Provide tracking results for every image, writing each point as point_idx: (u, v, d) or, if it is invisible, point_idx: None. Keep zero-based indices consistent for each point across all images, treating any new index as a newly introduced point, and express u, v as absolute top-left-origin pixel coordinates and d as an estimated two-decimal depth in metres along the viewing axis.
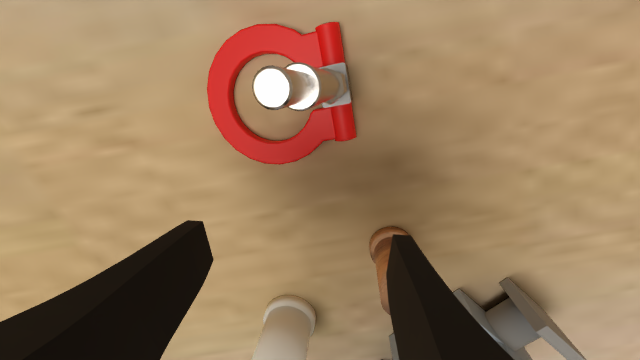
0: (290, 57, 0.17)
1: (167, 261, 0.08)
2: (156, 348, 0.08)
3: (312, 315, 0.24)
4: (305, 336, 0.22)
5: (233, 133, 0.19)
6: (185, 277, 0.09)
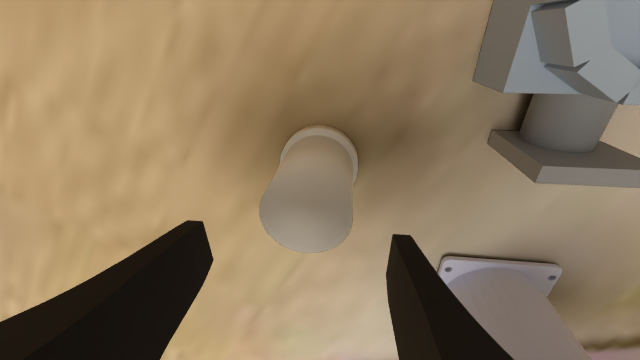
0: None
1: (167, 261, 0.08)
2: (156, 348, 0.08)
3: (336, 132, 0.15)
4: (328, 151, 0.13)
5: None
6: (185, 277, 0.09)
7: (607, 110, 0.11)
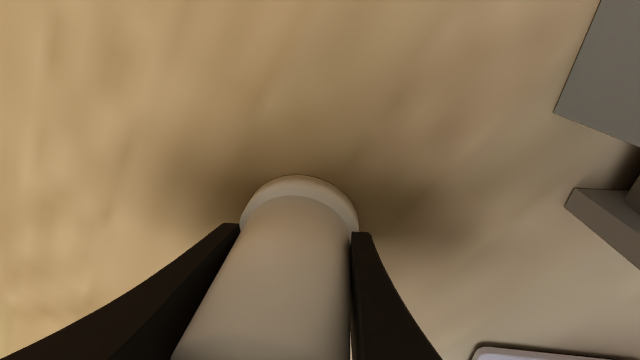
0: None
1: (211, 265, 0.08)
2: None
3: (324, 190, 0.10)
4: (309, 237, 0.08)
5: None
6: None
7: None
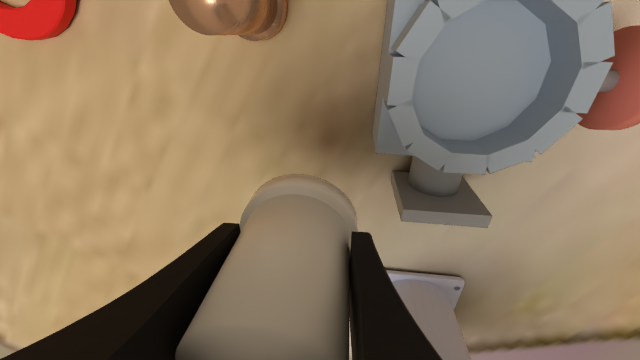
0: None
1: (211, 265, 0.08)
2: None
3: (327, 190, 0.10)
4: (313, 236, 0.08)
5: (8, 22, 0.16)
6: None
7: None
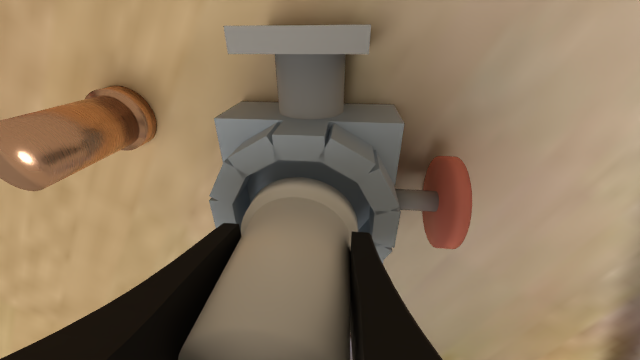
0: None
1: (211, 265, 0.08)
2: None
3: (333, 196, 0.10)
4: (319, 241, 0.08)
5: None
6: None
7: None
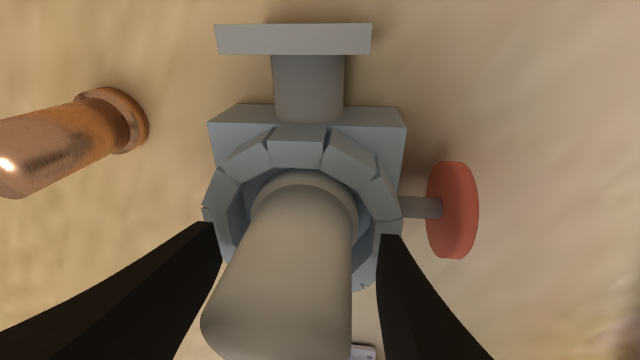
0: None
1: (179, 262, 0.08)
2: (169, 349, 0.08)
3: (336, 184, 0.11)
4: (324, 222, 0.09)
5: None
6: (196, 278, 0.09)
7: None
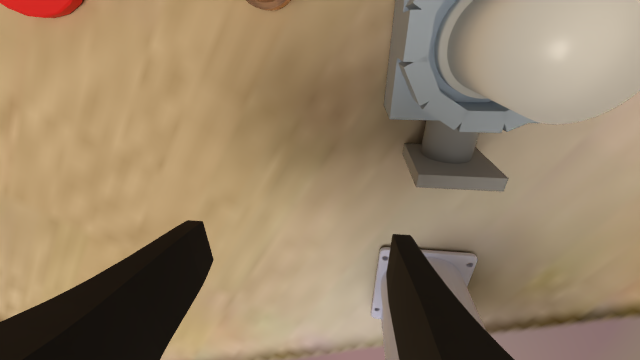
0: None
1: (167, 261, 0.08)
2: (156, 348, 0.08)
3: None
4: None
5: (23, 0, 0.16)
6: (185, 277, 0.09)
7: (469, 132, 0.15)
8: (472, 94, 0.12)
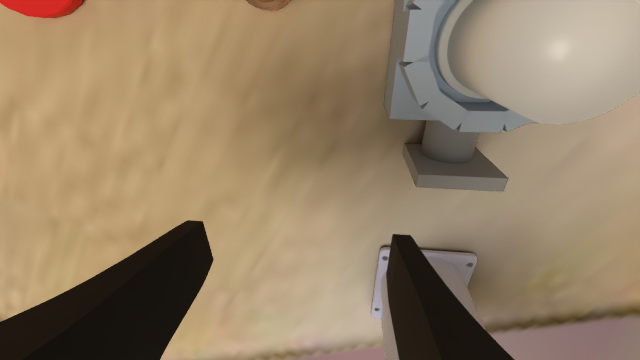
0: None
1: (167, 261, 0.08)
2: (156, 348, 0.08)
3: None
4: None
5: (23, 0, 0.16)
6: (185, 277, 0.09)
7: (469, 132, 0.15)
8: (472, 94, 0.12)
